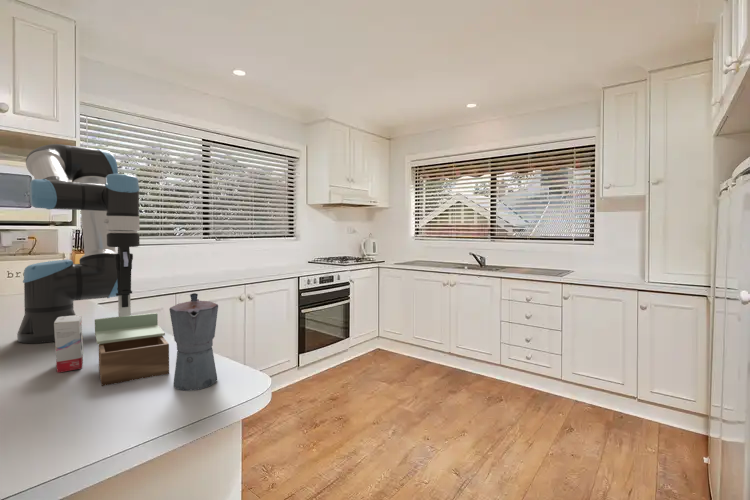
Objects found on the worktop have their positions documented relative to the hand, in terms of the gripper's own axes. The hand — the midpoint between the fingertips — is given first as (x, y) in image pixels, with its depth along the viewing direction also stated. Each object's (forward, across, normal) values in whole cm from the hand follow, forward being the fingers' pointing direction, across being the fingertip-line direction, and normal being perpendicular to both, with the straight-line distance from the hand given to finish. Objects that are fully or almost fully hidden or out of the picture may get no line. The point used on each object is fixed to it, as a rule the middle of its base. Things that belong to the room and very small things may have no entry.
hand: (124, 318), depth 109 cm
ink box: (+9, +7, -12) cm, 17 cm away
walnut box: (+9, +20, 0) cm, 22 cm away
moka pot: (+9, +35, +10) cm, 37 cm away
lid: (+2, +12, 0) cm, 12 cm away
